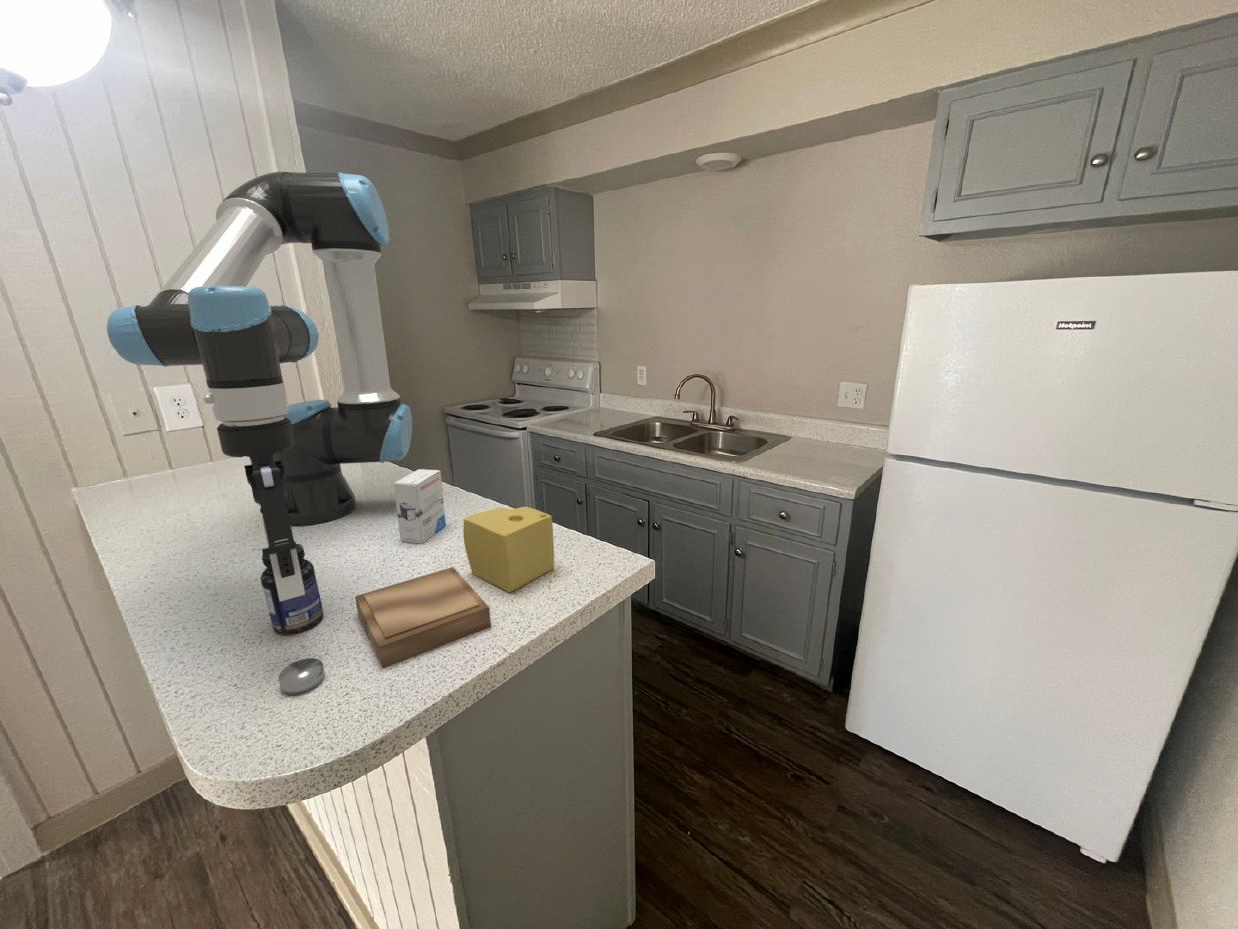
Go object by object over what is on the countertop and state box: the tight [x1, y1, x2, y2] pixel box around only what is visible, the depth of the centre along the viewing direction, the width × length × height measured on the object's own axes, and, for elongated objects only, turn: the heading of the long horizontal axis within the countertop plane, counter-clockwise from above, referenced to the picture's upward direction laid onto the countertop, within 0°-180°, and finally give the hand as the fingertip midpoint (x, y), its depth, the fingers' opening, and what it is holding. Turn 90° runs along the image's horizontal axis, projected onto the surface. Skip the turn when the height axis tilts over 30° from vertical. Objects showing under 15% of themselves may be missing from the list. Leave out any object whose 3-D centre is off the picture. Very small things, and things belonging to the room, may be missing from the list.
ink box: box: [393, 468, 446, 544], centre depth 98 cm, size 9×5×12 cm, turn 168°
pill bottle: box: [260, 543, 324, 635], centre depth 70 cm, size 6×6×11 cm
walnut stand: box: [354, 566, 492, 668], centre depth 71 cm, size 14×14×3 cm
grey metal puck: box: [278, 657, 326, 697], centre depth 60 cm, size 4×4×2 cm
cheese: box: [462, 506, 555, 593], centre depth 83 cm, size 10×11×10 cm
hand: (286, 575), depth 69 cm, fingers open, 13 cm apart
